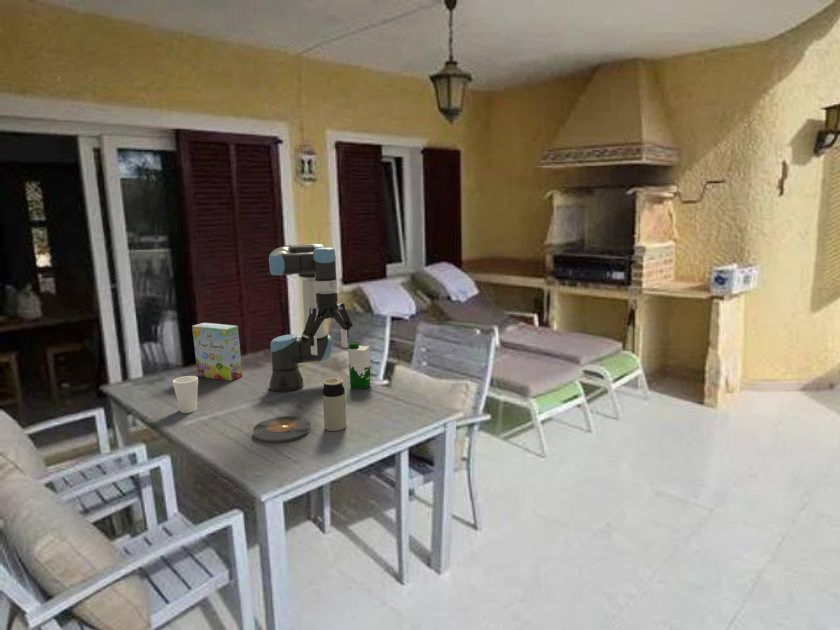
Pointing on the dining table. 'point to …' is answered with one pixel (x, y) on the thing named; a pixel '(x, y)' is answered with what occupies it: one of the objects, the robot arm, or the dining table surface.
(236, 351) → the snack box
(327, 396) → the travel mug
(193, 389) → the foam cup
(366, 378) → the soya milk
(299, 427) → the grey flat disc
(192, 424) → the dining table surface
